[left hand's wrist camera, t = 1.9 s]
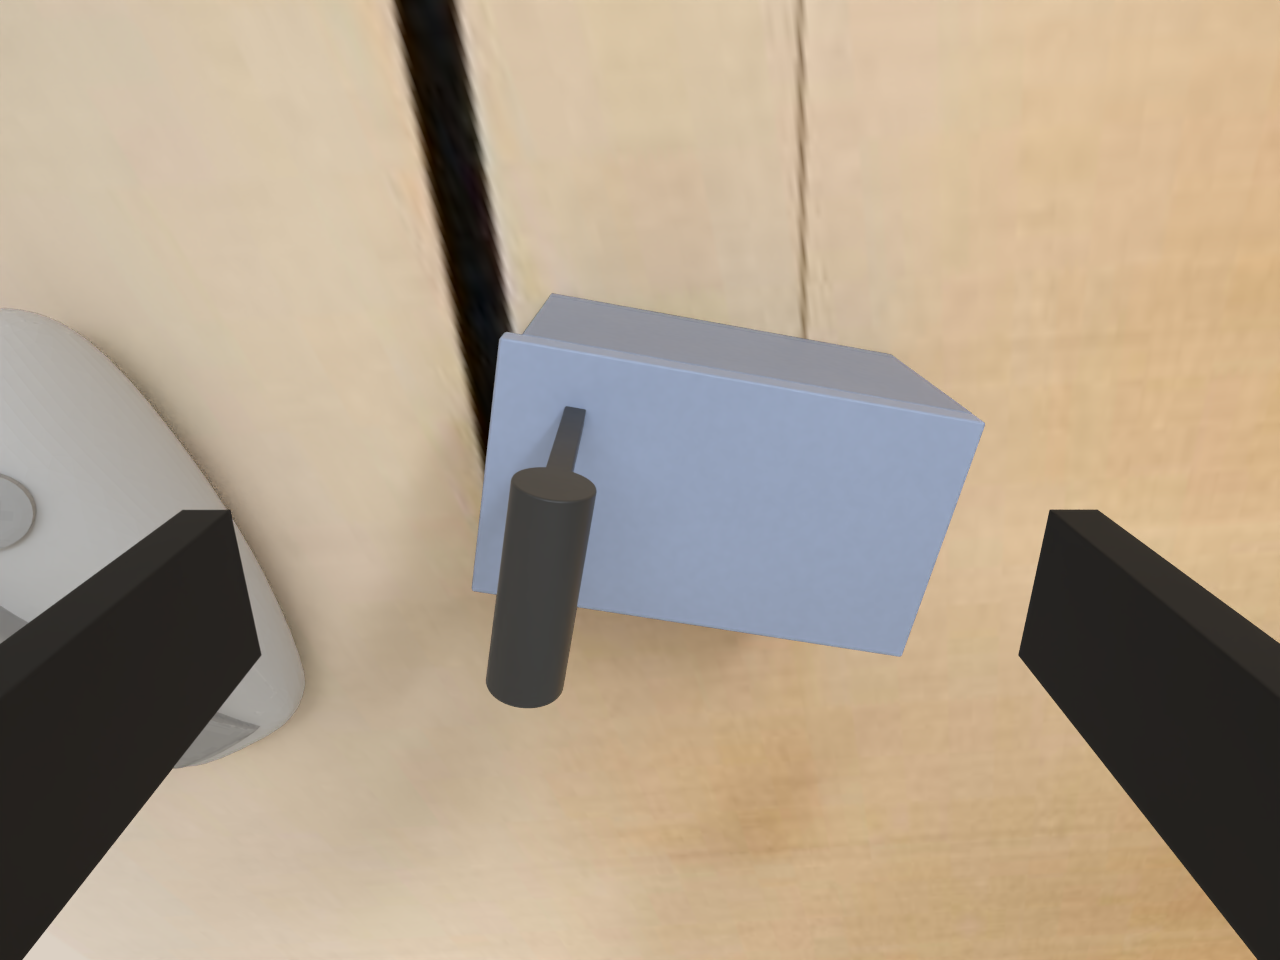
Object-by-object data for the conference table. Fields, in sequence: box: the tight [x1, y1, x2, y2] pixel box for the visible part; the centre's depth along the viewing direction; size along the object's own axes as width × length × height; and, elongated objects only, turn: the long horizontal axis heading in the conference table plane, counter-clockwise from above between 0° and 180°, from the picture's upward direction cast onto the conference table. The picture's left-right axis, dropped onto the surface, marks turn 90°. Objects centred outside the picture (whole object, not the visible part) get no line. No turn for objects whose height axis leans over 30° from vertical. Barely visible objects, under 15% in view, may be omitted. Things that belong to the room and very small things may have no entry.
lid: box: [472, 332, 985, 708], centre depth 24 cm, size 16×9×9 cm, turn 80°
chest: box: [522, 293, 972, 414], centre depth 32 cm, size 16×9×9 cm, turn 80°
